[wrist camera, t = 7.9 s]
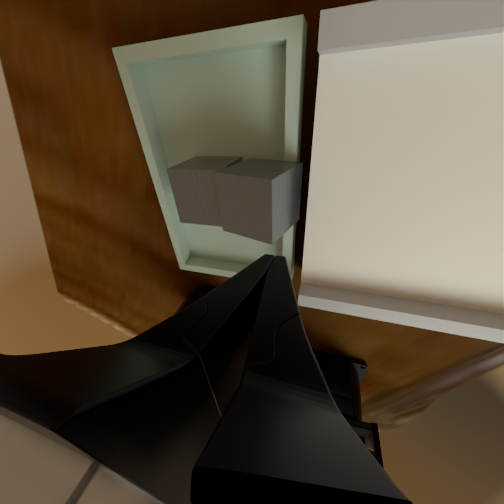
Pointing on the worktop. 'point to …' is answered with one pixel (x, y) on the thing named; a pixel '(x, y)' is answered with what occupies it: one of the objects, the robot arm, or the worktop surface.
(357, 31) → the channel
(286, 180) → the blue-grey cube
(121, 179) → the worktop surface
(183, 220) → the gray cube
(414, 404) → the worktop surface
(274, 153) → the tray
